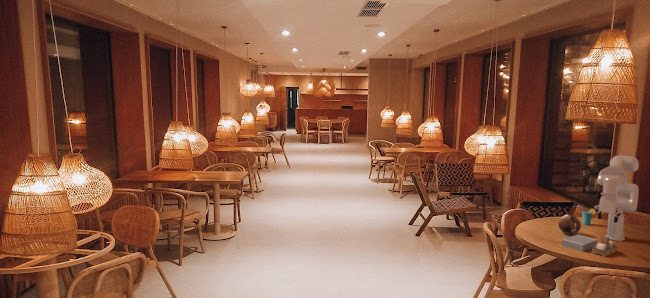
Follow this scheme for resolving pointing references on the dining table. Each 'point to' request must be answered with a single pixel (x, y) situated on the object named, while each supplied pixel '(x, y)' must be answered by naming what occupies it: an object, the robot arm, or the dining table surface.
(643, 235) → the dining table surface
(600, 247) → the crate white
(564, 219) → the wooden sphere
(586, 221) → the cup
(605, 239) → the wooden caddy
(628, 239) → the dining table surface
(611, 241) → the crate sage
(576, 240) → the block
